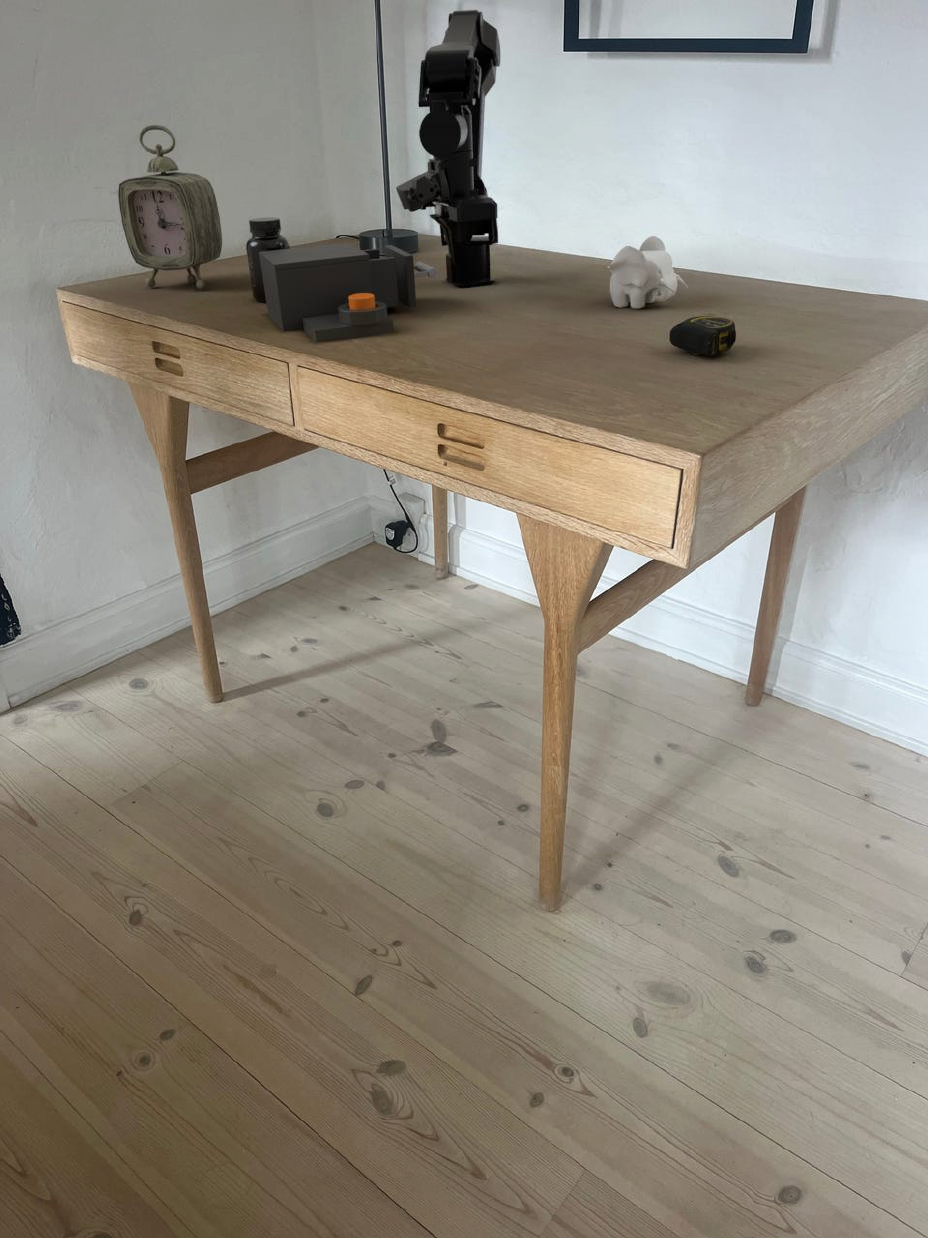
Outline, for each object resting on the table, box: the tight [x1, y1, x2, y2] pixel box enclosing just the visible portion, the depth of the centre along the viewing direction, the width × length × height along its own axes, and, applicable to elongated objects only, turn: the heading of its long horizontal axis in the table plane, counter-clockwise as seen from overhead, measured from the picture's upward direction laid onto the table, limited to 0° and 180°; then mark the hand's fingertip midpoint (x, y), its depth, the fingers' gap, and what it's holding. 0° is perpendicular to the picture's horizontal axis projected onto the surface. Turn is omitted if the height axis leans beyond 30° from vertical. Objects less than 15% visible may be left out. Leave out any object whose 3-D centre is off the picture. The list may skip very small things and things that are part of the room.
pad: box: [302, 301, 394, 343], centre depth 128 cm, size 11×9×4 cm
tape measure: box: [668, 315, 737, 357], centre depth 112 cm, size 7×7×4 cm
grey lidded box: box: [259, 242, 373, 332], centre depth 135 cm, size 14×12×9 cm
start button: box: [348, 293, 375, 310], centre depth 126 cm, size 4×4×2 cm
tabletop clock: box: [117, 124, 223, 291], centre depth 155 cm, size 14×9×25 cm, turn 68°
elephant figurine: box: [606, 235, 688, 310], centre depth 133 cm, size 10×12×9 cm
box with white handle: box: [361, 244, 439, 309], centre depth 137 cm, size 17×10×7 cm, turn 111°
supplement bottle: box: [245, 216, 291, 303], centre depth 146 cm, size 7×7×12 cm
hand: (457, 264), depth 141 cm, fingers closed
